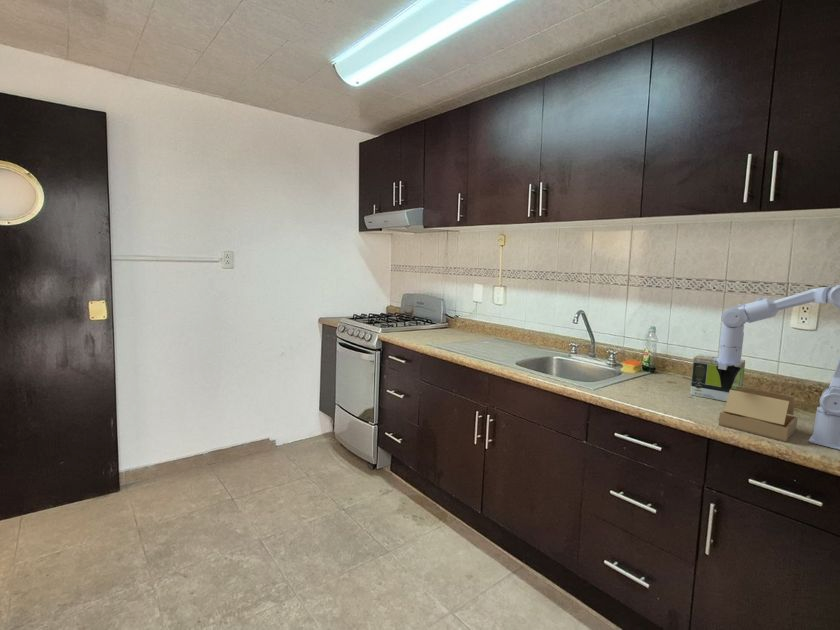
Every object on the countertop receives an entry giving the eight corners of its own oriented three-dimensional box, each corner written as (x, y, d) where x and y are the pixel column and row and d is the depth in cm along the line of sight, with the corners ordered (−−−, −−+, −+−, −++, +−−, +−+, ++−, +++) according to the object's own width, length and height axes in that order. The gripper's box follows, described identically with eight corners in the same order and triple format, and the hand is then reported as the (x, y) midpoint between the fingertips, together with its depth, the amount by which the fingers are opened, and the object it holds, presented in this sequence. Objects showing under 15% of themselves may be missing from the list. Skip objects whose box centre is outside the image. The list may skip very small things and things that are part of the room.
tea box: (741, 398, 163) (746, 359, 161) (738, 404, 155) (743, 363, 153) (694, 390, 172) (698, 353, 171) (689, 395, 165) (693, 356, 163)
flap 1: (789, 401, 123) (789, 401, 123) (783, 425, 122) (783, 424, 122) (730, 389, 134) (729, 389, 134) (724, 411, 132) (724, 411, 132)
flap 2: (793, 415, 131) (793, 414, 131) (793, 397, 128) (794, 396, 128) (737, 402, 142) (737, 402, 142) (736, 386, 138) (736, 385, 139)
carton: (795, 430, 131) (797, 417, 131) (786, 442, 121) (787, 428, 121) (732, 415, 143) (733, 403, 143) (718, 425, 133) (720, 412, 133)
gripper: (722, 342, 144) (718, 382, 145) (708, 346, 134) (704, 389, 136) (748, 345, 139) (743, 387, 140) (736, 350, 129) (731, 395, 131)
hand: (726, 389), depth 138 cm, fingers closed
